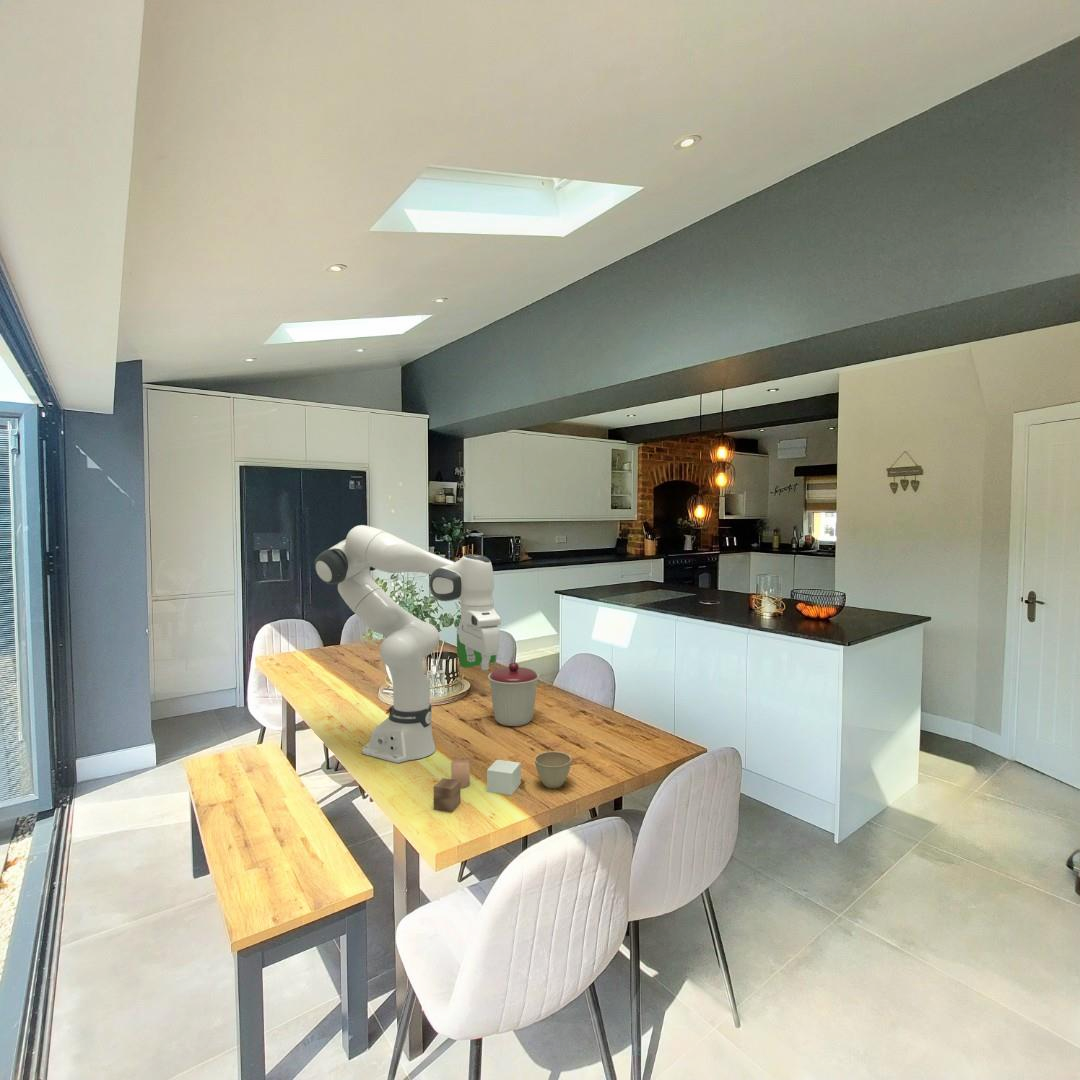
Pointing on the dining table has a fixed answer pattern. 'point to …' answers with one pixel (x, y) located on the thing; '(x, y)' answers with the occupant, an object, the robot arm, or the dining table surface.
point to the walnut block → (447, 795)
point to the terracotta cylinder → (461, 772)
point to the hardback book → (463, 654)
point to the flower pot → (553, 768)
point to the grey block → (503, 777)
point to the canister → (513, 694)
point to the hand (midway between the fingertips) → (477, 665)
